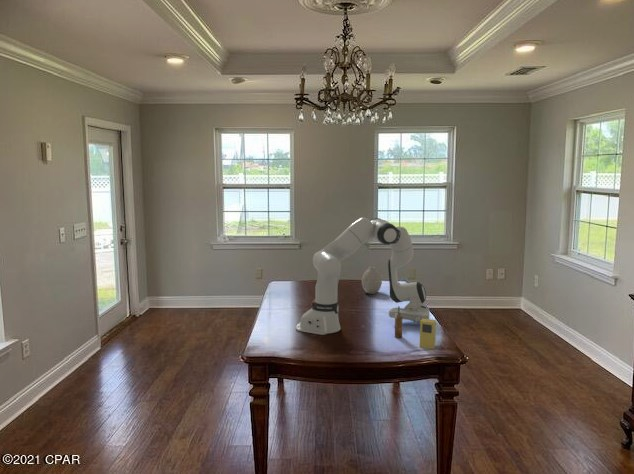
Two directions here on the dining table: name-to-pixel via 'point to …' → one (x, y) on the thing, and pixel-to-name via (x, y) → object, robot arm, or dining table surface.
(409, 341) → the dining table surface
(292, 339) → the dining table surface
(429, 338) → the block
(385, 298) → the dining table surface
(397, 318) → the awl
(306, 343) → the dining table surface
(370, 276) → the vase
